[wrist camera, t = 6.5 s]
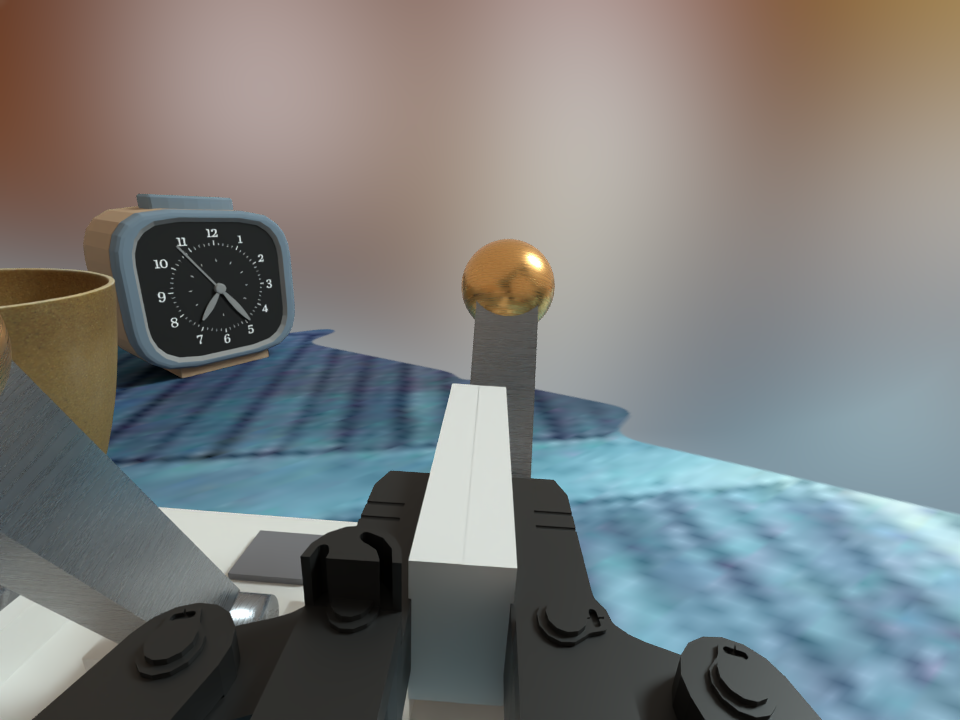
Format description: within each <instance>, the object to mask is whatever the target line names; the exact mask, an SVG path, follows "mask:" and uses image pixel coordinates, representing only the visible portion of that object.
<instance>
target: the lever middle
mask: <svg viewBox="0 0 960 720" xmlns="http://www.w3.org/2000/svg"><path fill="white" fill-rule="evenodd" d="M0 585H1V586H3V587H5V588H7V589H9V590H11V591H13V592H15V593H17V594H19V595H21V596H23V597H25V598H27V599H29V600H31V601H33V602H35V603H37V604H39V605H41V606H43V607H45V608H47V609H49V610H51V611H53V612H55V613H57V614H59V615H61V616H63V617H65V618H67V619H69V620H71V621H73V622H75V623H77V624H79V625H81V626H83V627H85V628H87V629H89V630H91V631H93V632H95V633H97V634H99V635H101V636H103V637H105V638H107V639H109V640H111V641H113V642H115V643H117V644H119V643H120V642H121V641H123V640H124V639H125V638H126V637H127V636H128V635H129V634H131V633H132V632H133V631H135V630H136V629H138V628H139V627H140V626H142V625H143V624H145V623H146V622H147V621H149V620H150V619H152V618H153V617H155V616H158V615H160V614H162V613H164V612H167V611H169V610H171V609H173V608H176V607H179V606H184V605H189V604H195V603H208V604H217V605H219V606H221V607H222V608H224V609H225V610H227V611H228V612H230V613H231V616H232V619H233V621H234V624H235V626H237V625H242V624H247V623H251V622H256V621H261V620H266V619H270V618H275V617H278V616H279V604H278V600H277V598H276V596H275V595H273V594H262V593H250V592H240V589H239V588H238V587H237V586H236V585H235V584H234V583H233V582H232V581H231V580H230V579H229V578H228V577H227V576H226V575H225V574H224V573H223V572H222V571H221V570H220V569H219V568H218V567H217V566H216V565H215V564H214V563H213V562H212V561H211V560H210V559H209V558H208V557H207V556H206V555H205V554H204V553H203V552H202V551H201V550H200V549H199V548H198V547H197V546H196V545H195V544H194V543H193V542H192V541H191V540H190V539H189V538H188V537H187V536H186V535H185V534H184V533H183V532H182V531H181V530H180V529H179V528H178V527H177V526H176V525H175V524H174V523H173V522H172V521H171V520H170V519H169V518H168V517H167V516H166V515H165V514H164V513H163V512H162V511H161V510H160V509H159V508H158V507H157V506H156V505H155V504H154V503H153V502H152V501H151V500H150V499H149V498H148V497H147V495H146V494H145V493H144V492H143V491H142V490H141V489H140V488H139V487H138V486H137V485H136V484H135V483H134V482H133V481H132V480H131V479H130V478H129V477H128V476H127V475H126V474H125V473H124V472H123V471H122V470H121V469H120V468H119V467H118V466H117V465H116V464H115V463H114V462H113V461H112V460H111V459H110V458H109V457H108V456H107V455H106V454H105V453H104V452H103V451H102V450H101V449H100V448H99V447H98V446H97V445H96V444H95V443H94V442H93V441H92V440H91V439H90V438H89V437H88V436H87V435H86V434H85V433H84V432H83V431H82V430H81V429H80V428H79V427H78V426H77V425H76V424H75V423H74V422H73V421H72V420H71V419H70V418H69V417H68V416H67V415H66V414H65V413H64V412H63V411H62V410H61V409H60V408H59V407H58V406H57V405H56V404H55V403H54V402H53V401H52V400H51V399H50V398H49V397H48V396H47V395H46V394H45V393H44V392H43V391H42V390H41V389H40V388H39V387H38V386H37V385H36V384H35V383H34V382H33V381H32V380H31V379H30V378H29V377H28V376H27V375H26V374H25V373H24V372H23V371H22V370H21V369H20V368H19V367H18V366H17V364H16V363H15V362H14V361H13V360H12V352H11V341H10V338H9V335H8V331H7V328H6V326H5V323H4V321H3V319H2V317H1V315H0Z"/></svg>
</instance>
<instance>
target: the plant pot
mask: <svg viewBox="0 0 960 720" xmlns="http://www.w3.org/2000/svg"><path fill="white" fill-rule="evenodd" d="M0 315H1V317H2V319H3V321H4V323H5V326H6V328H7V331H8V335H9V338H10V341H11V352H12V360H13V361H14V362H15V363H16V364H17V366H18V367H19V368H20V369H21V370H22V371H23V372H24V373H25V374H26V375H27V376H28V377H29V378H30V379H31V380H32V381H33V382H34V383H35V384H36V385H37V386H38V387H39V388H40V389H41V390H42V391H43V392H44V393H45V394H46V395H47V396H48V397H49V398H50V399H51V400H52V401H53V402H54V403H55V404H56V405H57V406H58V407H59V408H60V409H61V410H62V411H63V412H64V413H65V414H66V415H67V416H68V417H69V418H70V419H71V420H72V421H73V422H74V423H75V424H76V425H77V426H78V427H79V428H80V429H81V430H82V431H83V432H84V433H85V434H86V435H87V436H88V437H89V438H90V439H91V440H92V441H93V442H94V443H95V444H96V445H97V446H98V447H99V448H100V449H101V450H102V451H103V452H104V453H105V454H107V449H108V444H109V438H110V433H111V427H112V420H113V412H114V404H115V394H116V381H117V351H118V344H117V307H116V291H115V280H114V279H113V278H112V277H111V276H108V275H104V274H100V273H96V272H91V271H80V270H69V269H49V268H48V269H47V268H15V269H14V268H9V269H7V268H6V269H0Z"/></svg>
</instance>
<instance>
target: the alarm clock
mask: <svg viewBox="0 0 960 720" xmlns="http://www.w3.org/2000/svg"><path fill="white" fill-rule="evenodd" d="M137 202H138V206H136V207H127V208H119V209H111V210H106V211H105V212H103V213H102V214H100V215H98V216H97V217H95V218H93V220H92V221H91V223H90V224H89V226H88V227H87V228H86V231H85V237H84V243H83V246H84V255H85V261H86V265H87V269H88V271H91V272H96V273H100V274H104V275H108V276H111V277H112V278H113V279H114V280H115V291H116V307H117V344H118V346H119V347H120V348H122V349H123V350H125V351H127V352H129V353H131V354H133V355H135V356H137V357H139V358H140V359H142V360H144V361H146V362H148V363H150V364H152V365H155V366H158V367H162V368H163V369H165V370H167V371H169V372H171V373H173V374H175V375H177V376H179V377H181V378H186V377H190V376H194V375H198V374H202V373H206V372H210V371H213V370H217V369H221V368H225V367H229V366H233V365H237V364H241V363H245V362H249V361H253V360H257V359H261V358H265V357H269V355H268V348H271V347H273V346H276V345H278V344H280V343H281V342H282V341H283V340H284V339H285V338H286V337H287V336H288V334H289V332H290V330H291V328H292V326H293V321H294V315H295V304H294V293H293V282H292V271H291V260H290V252H289V247H288V243H287V240H286V238H285V235H284V233H283V231H282V230H281V229H280V228H279V226H278V225H277V224H276V223H275V222H273V221H272V220H270V219H269V218H267V217H266V216H264V215H259V214H254V213H249V212H243V211H235V210H233V205H232V200H231V199H230V198H219V197H197V196H173V195H152V194H138V195H137Z"/></svg>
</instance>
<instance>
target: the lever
mask: <svg viewBox="0 0 960 720" xmlns="http://www.w3.org/2000/svg"><path fill="white" fill-rule="evenodd" d="M554 285H555V284H554V276H553V272H552V269H551V267H550V265H549V263H548V261H547V259H546V258H545V257H544V255H543V254H542V253H541V252H540V251H539V250H538V249H536V248H535V247H533V246H532V245H530V244H528V243H526V242H523V241H520V240H514V239H503V240H498V241H494V242H491V243H489V244H487V245H485V246H484V247H482V248H481V249H480V250H478V251H477V252H476V253H475V254H474V255H473V256H472V258H471V259H470V260H469V262H468V264H467V266H466V268H465V270H464V274H463V277H462V296H463V300H464V303H465V305H466V308H467V309H468V311H469V313H470V314H471V316H472V317H473V318H474V319H475V327H474V341H473V354H472V368H471V382H470V385H480V386H496V387H506V394H507V410H508V426H509V443H510V459H511V475H512V477H517V478H531V459H532V437H533V414H534V392H535V369H536V347H537V324H538V321H539V320H541V318H543V316H544V315H545V314H546V312H547V311H548V309H549V307H550V305H551V302H552V299H553V296H554V288H555V286H554ZM503 703H504V702H503Z"/></svg>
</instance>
